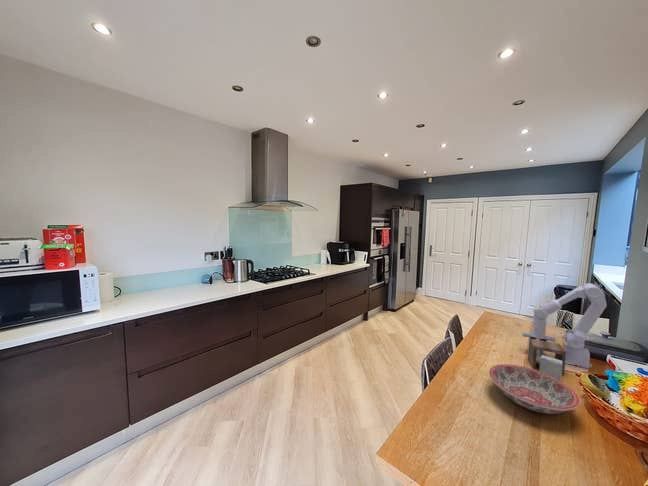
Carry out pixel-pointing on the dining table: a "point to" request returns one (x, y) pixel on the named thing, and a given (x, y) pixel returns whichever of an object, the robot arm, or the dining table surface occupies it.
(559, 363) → the medicine box
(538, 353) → the steel block
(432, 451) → the dining table surface
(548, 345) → the low cabinet
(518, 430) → the dining table surface
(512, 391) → the ceramic bowl
